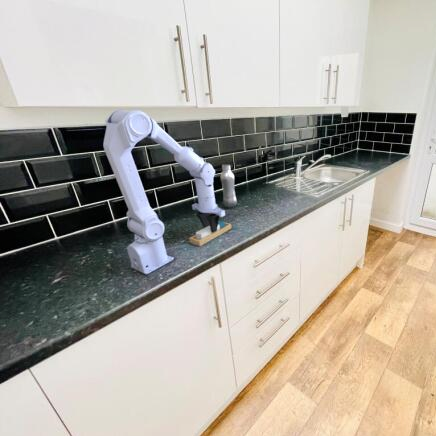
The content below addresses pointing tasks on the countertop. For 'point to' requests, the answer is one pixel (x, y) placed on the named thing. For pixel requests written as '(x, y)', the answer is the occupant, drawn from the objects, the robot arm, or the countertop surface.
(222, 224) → the marker
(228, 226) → the pen tray
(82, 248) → the countertop surface
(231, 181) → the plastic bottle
